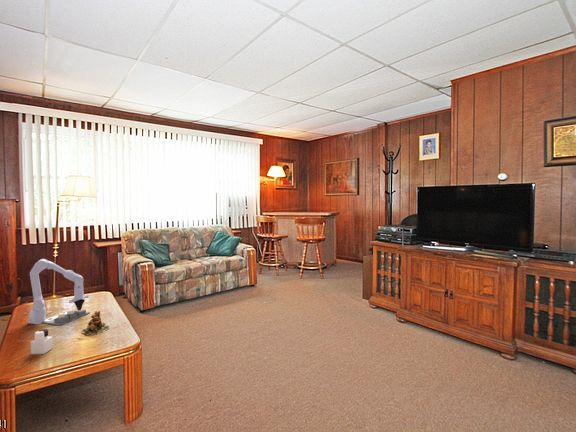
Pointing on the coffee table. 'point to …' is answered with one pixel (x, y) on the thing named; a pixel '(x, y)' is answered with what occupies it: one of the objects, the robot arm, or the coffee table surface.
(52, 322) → the console
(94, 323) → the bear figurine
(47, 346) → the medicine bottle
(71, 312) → the button middle
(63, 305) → the coffee table surface
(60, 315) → the button
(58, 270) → the robot arm
